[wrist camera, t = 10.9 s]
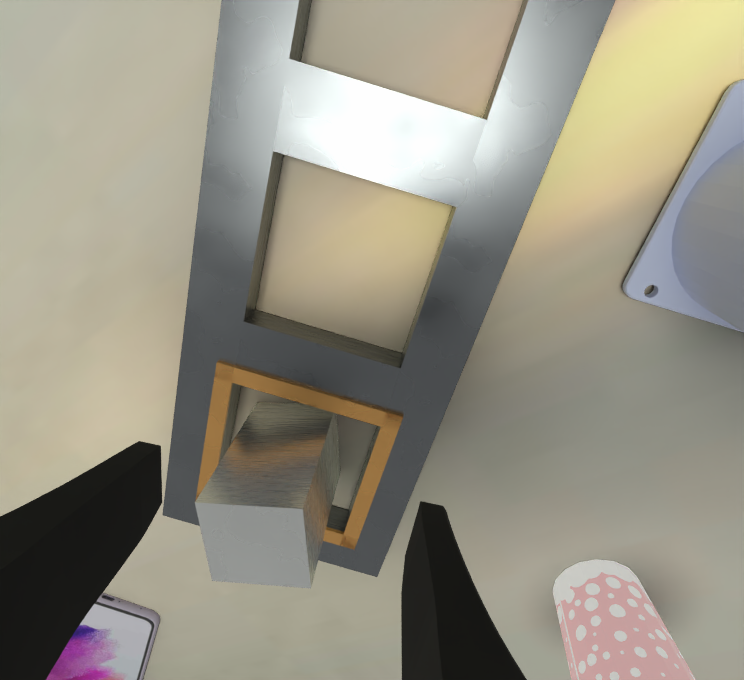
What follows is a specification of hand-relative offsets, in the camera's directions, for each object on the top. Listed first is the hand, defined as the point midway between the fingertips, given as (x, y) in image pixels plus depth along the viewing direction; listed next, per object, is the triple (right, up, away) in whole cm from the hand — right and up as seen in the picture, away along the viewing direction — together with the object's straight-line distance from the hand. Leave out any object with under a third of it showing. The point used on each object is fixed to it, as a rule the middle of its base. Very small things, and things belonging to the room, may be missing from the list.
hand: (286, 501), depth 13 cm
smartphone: (-17, -18, +21) cm, 33 cm away
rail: (+1, +8, +7) cm, 11 cm away
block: (-1, -1, +11) cm, 11 cm away
